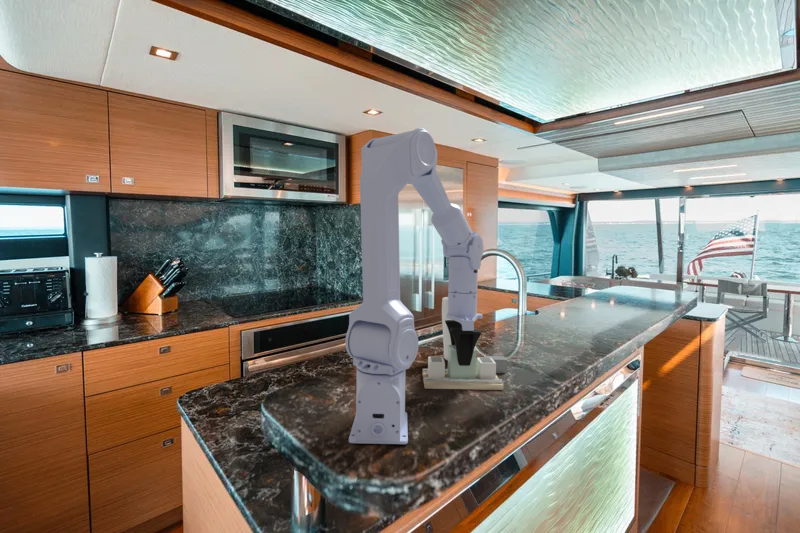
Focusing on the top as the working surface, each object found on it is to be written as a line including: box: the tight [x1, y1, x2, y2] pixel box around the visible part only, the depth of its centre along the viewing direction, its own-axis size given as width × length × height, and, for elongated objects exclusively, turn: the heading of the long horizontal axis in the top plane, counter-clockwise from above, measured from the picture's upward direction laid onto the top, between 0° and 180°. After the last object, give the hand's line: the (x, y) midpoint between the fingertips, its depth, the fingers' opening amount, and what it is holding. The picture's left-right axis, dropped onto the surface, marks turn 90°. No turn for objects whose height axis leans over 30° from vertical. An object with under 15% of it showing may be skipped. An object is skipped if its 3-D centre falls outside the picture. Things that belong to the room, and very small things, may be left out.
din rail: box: [422, 368, 504, 383], centre depth 76 cm, size 6×15×1 cm, turn 90°
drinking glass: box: [441, 296, 451, 362], centre depth 91 cm, size 7×7×15 cm
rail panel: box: [421, 371, 505, 391], centre depth 76 cm, size 8×15×1 cm, turn 90°
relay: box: [485, 355, 508, 374], centre depth 84 cm, size 3×4×3 cm
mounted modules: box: [427, 356, 497, 379], centre depth 76 cm, size 4×13×4 cm, turn 90°
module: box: [447, 345, 477, 379], centre depth 75 cm, size 4×5×6 cm
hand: (461, 359), depth 75 cm, fingers open, 7 cm apart
